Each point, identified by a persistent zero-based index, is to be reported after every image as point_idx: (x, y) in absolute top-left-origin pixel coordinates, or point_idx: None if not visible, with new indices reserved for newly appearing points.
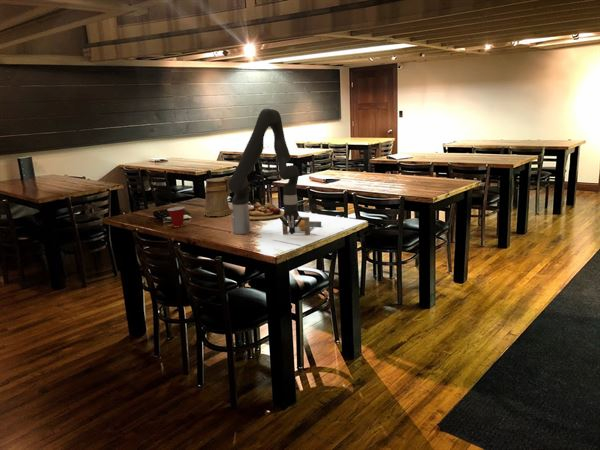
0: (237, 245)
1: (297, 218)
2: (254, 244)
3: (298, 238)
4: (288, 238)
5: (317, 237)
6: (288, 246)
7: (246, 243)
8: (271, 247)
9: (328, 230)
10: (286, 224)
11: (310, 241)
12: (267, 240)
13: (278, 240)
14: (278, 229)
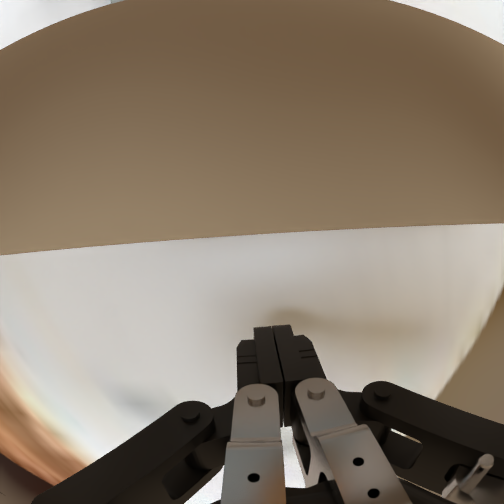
0: (25, 459)
1: (425, 219)
2: (77, 462)
3: (336, 321)
4: (227, 340)
5: (484, 251)
6: (303, 480)
7: (28, 441)
8: (207, 499)
9: (494, 20)
10: (203, 474)
11: (438, 370)
12: (81, 403)
13: (163, 404)
14: (7, 25)
